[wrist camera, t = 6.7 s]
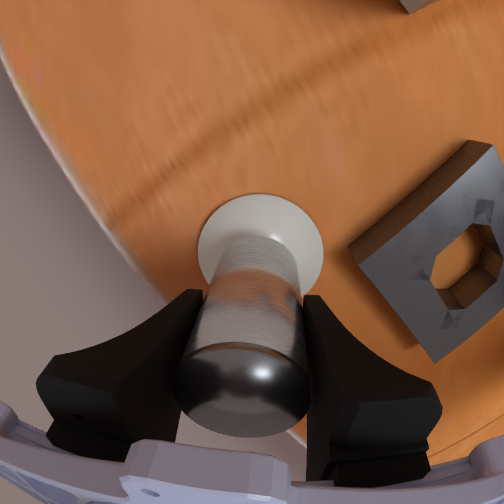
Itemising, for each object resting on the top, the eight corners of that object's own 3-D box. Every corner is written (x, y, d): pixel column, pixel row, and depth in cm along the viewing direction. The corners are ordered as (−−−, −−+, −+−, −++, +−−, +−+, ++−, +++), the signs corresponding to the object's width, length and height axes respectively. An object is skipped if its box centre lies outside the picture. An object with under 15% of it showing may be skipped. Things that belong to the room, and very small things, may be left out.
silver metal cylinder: (314, 276, 15) (337, 404, 8) (256, 320, 17) (241, 448, 9) (258, 219, 14) (239, 326, 7) (201, 271, 16) (147, 389, 8)
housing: (520, 255, 16) (539, 271, 14) (422, 341, 20) (434, 363, 17) (469, 139, 14) (493, 144, 12) (348, 246, 17) (358, 265, 15)
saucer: (346, 257, 18) (348, 261, 17) (258, 324, 20) (257, 329, 19) (262, 165, 16) (262, 167, 15) (175, 250, 18) (173, 253, 18)
